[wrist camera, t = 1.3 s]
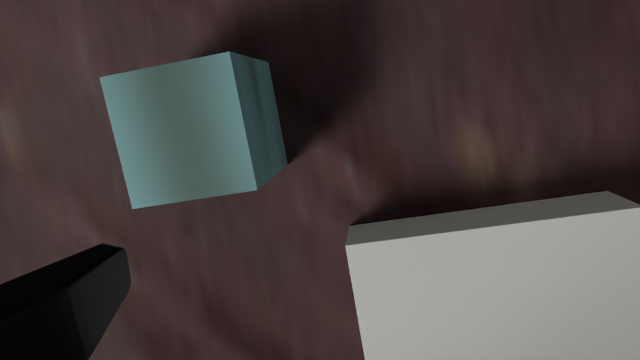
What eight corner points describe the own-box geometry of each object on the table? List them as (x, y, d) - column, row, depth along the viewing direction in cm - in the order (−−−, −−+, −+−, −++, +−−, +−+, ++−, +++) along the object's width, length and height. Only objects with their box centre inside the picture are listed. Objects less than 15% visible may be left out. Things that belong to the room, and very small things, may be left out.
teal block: (193, 179, 23) (132, 208, 18) (171, 81, 23) (99, 77, 17) (287, 164, 23) (257, 190, 17) (268, 62, 22) (229, 51, 16)
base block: (385, 437, 25) (386, 483, 22) (349, 226, 23) (345, 245, 20) (623, 421, 23) (660, 469, 20) (607, 190, 21) (644, 206, 18)
